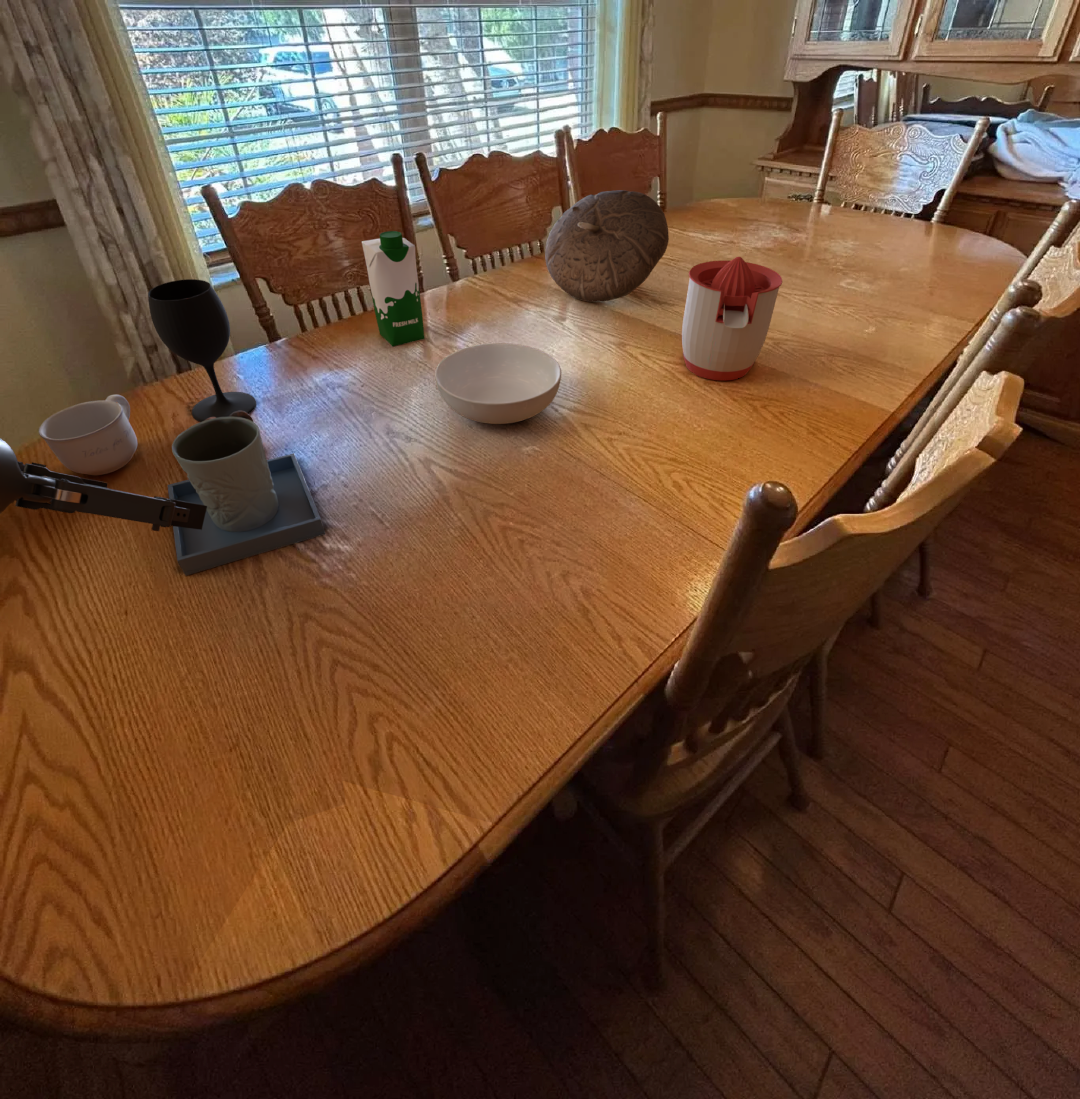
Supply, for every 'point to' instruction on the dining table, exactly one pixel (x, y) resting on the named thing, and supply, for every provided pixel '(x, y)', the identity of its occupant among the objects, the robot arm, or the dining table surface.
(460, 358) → the serving bowl
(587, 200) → the brown fungus
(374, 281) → the milk carton
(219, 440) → the gray ceramic cup
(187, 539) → the dark gray rectangular tray
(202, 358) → the wine glass
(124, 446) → the teacup
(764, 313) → the citrus juicer
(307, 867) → the dining table surface
